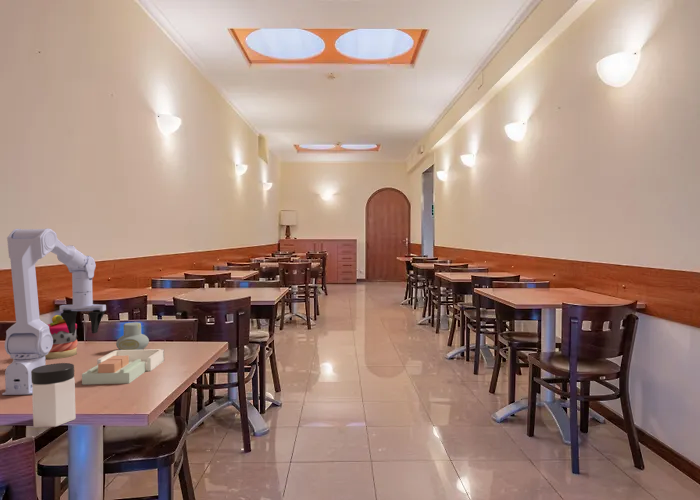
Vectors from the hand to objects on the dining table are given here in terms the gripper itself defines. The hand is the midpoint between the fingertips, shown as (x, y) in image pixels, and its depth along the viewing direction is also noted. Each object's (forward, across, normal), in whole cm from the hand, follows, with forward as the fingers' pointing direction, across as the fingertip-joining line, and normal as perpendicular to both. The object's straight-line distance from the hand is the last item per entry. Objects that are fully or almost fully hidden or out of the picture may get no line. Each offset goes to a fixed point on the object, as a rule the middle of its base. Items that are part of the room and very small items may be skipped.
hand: (83, 332), depth 153 cm
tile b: (+7, -20, +15) cm, 25 cm away
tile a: (+7, -20, +20) cm, 29 cm away
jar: (+10, -23, +49) cm, 55 cm away
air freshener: (+10, -8, -17) cm, 21 cm away
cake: (+10, +15, -10) cm, 21 cm away
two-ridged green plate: (+10, -20, +16) cm, 27 cm away
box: (+10, -18, +4) cm, 21 cm away
